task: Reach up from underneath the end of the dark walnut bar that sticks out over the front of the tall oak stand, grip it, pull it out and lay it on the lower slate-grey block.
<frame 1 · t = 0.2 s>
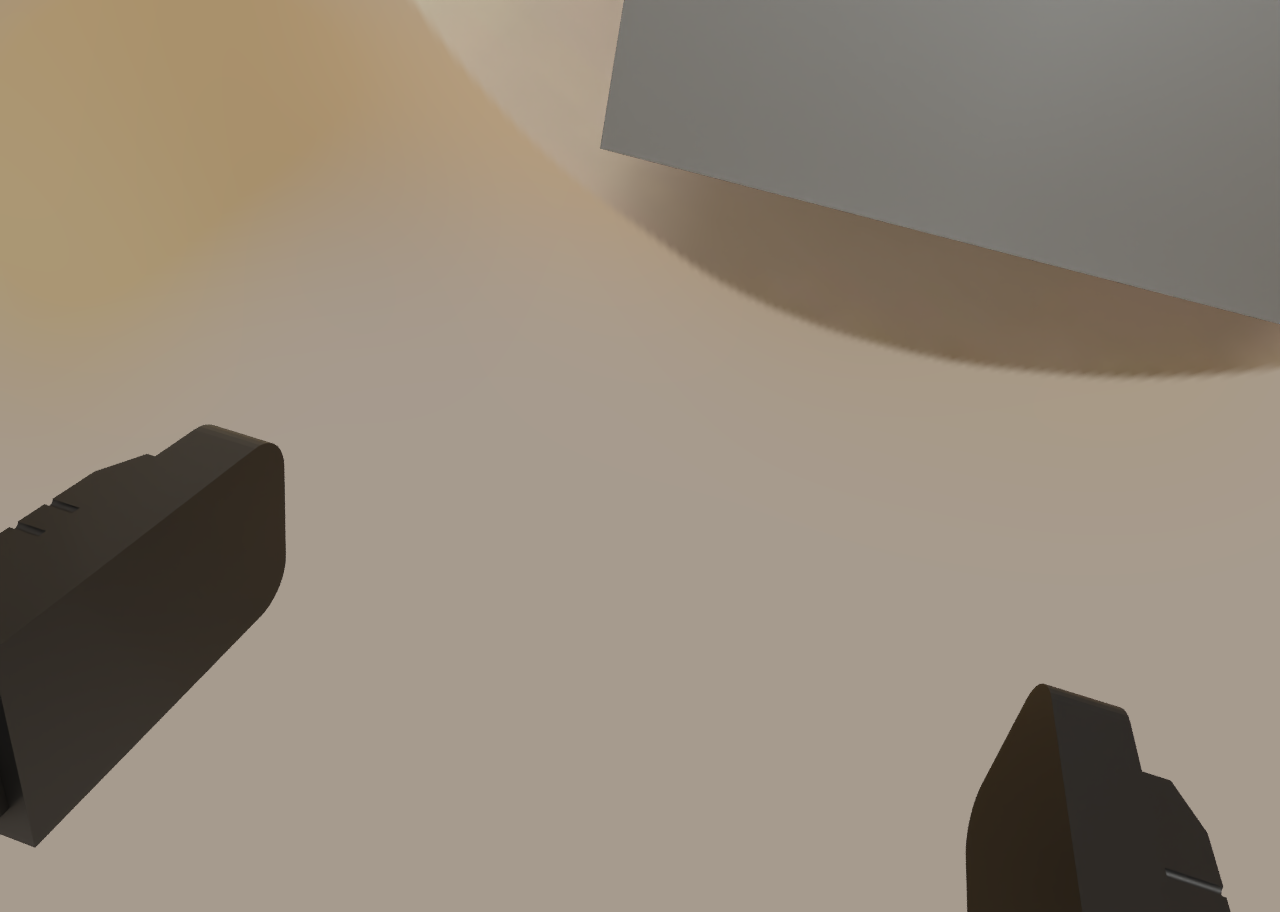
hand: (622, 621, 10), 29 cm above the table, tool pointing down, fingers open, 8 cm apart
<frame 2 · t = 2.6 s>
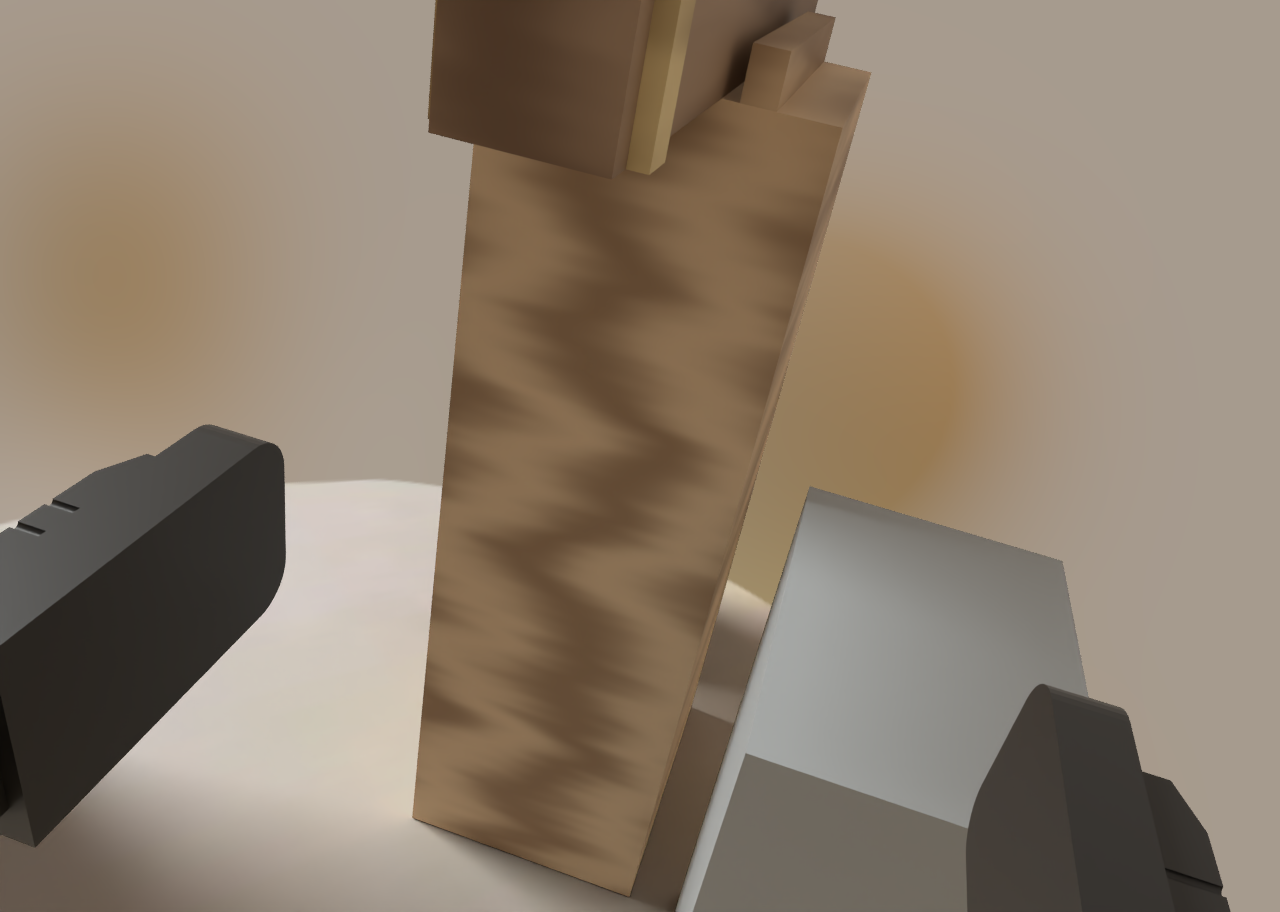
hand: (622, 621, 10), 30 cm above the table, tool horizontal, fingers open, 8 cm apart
walnut bar: (698, 62, 30), point 32 cm above the table, touching oak stand
oak stand: (564, 756, 47), on the table
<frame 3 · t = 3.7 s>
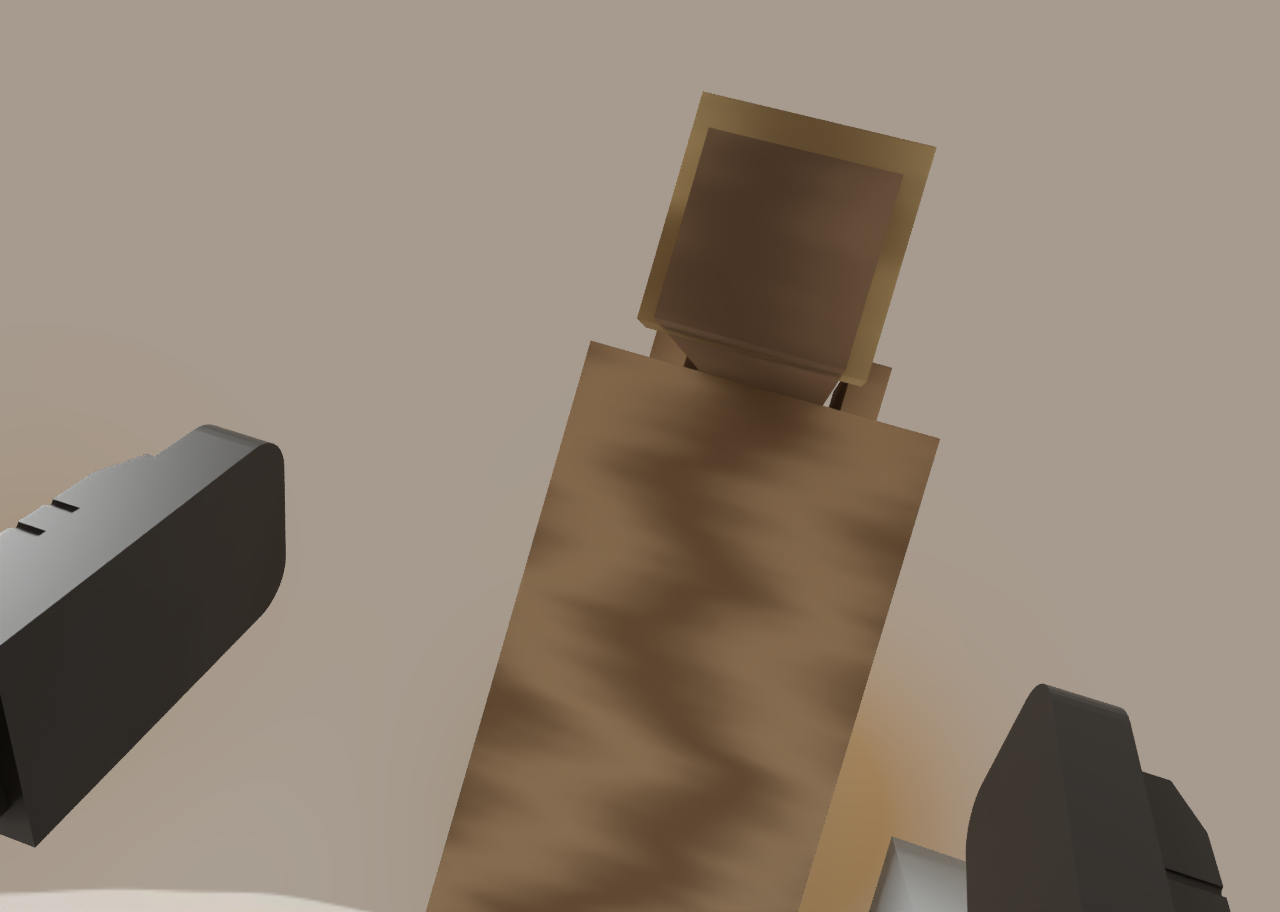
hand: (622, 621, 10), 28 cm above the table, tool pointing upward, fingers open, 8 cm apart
walnut bar: (764, 400, 32), point 32 cm above the table, touching oak stand
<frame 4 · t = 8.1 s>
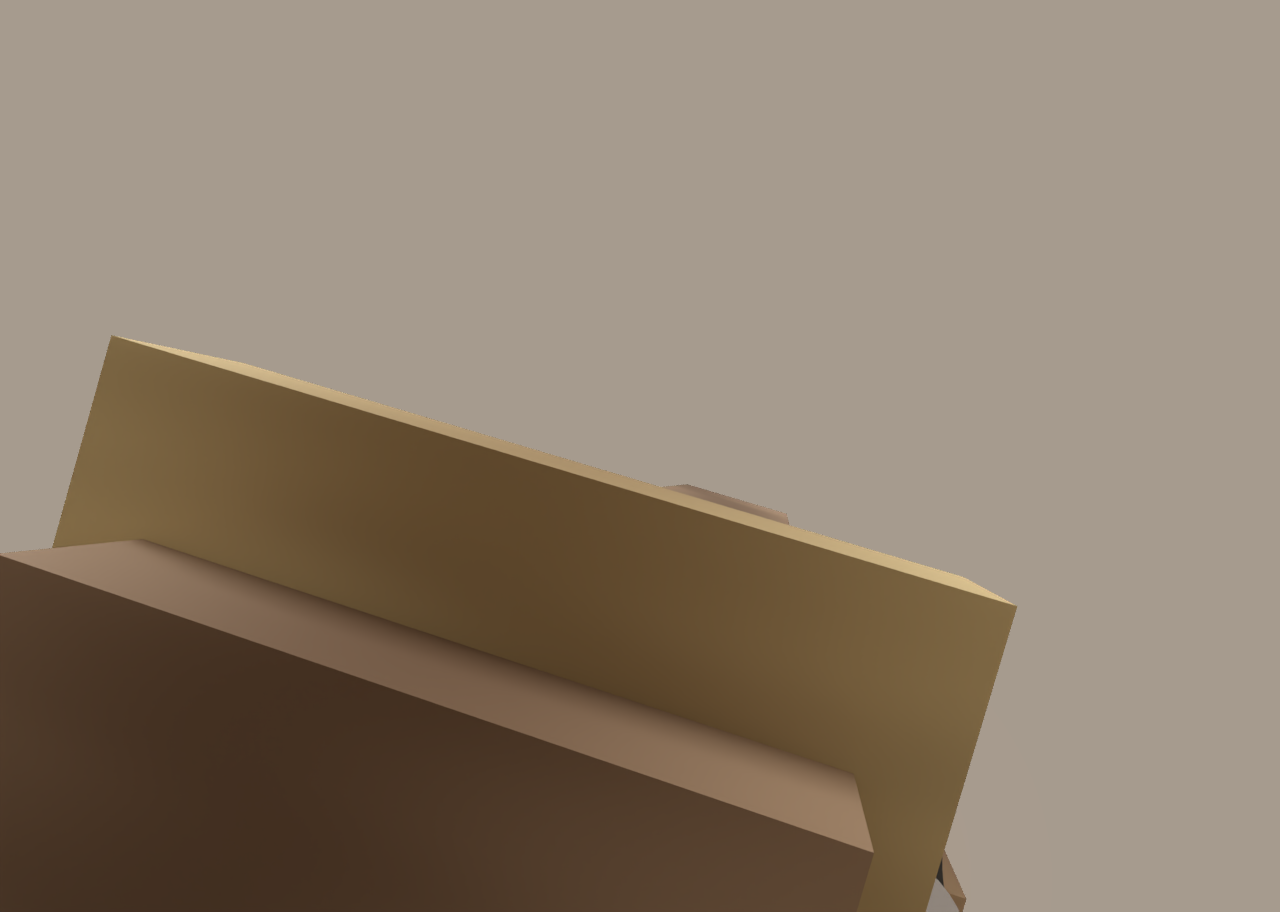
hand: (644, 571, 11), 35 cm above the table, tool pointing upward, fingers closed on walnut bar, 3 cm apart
walnut bar: (652, 695, 19), point 32 cm above the table, touching gripper, oak stand
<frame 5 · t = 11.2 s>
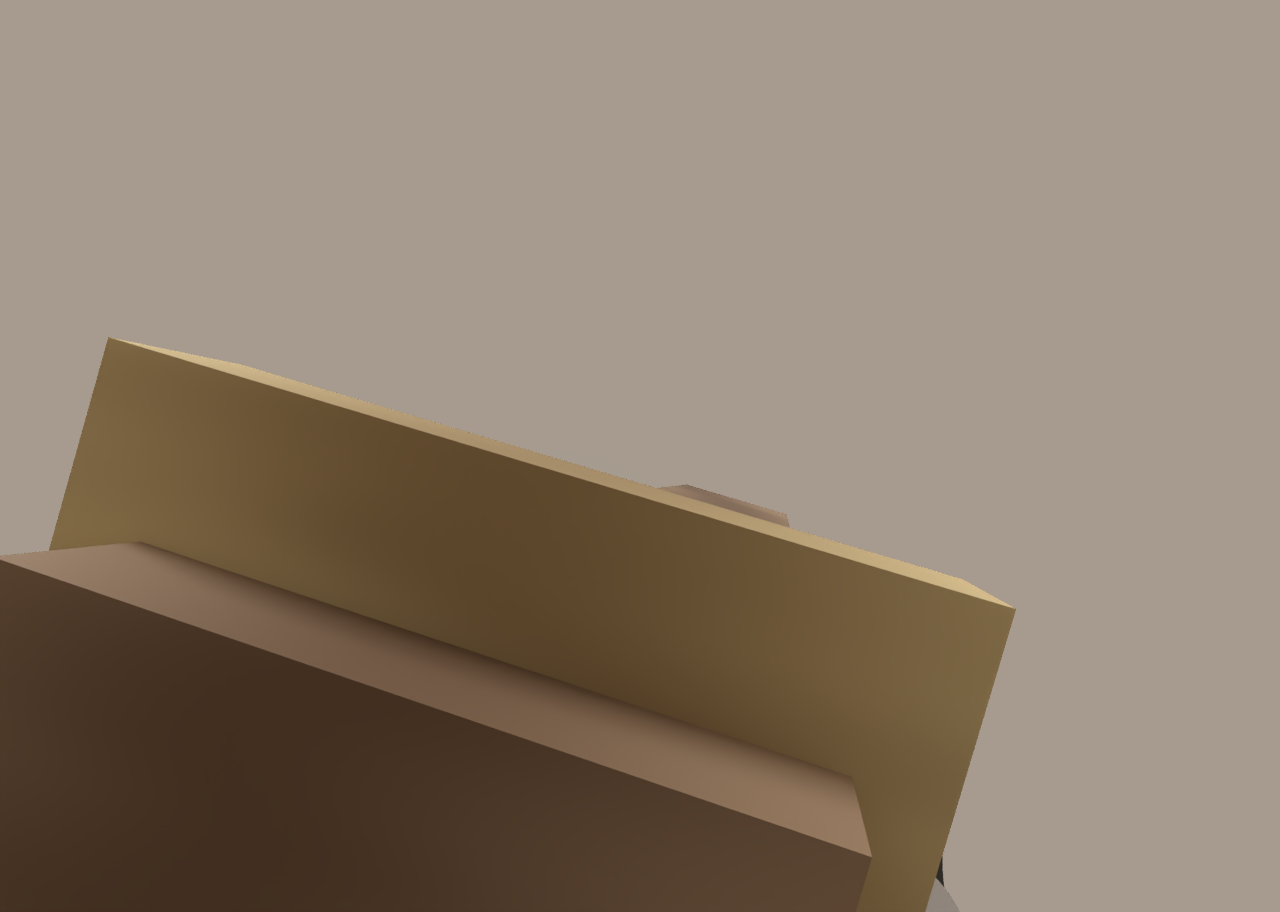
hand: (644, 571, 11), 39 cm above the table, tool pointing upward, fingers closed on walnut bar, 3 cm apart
walnut bar: (651, 696, 19), point 36 cm above the table, touching gripper
when the fingers open (26 cm above the table, at t = 14.5 s): walnut bar drops 1 cm, resting on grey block.
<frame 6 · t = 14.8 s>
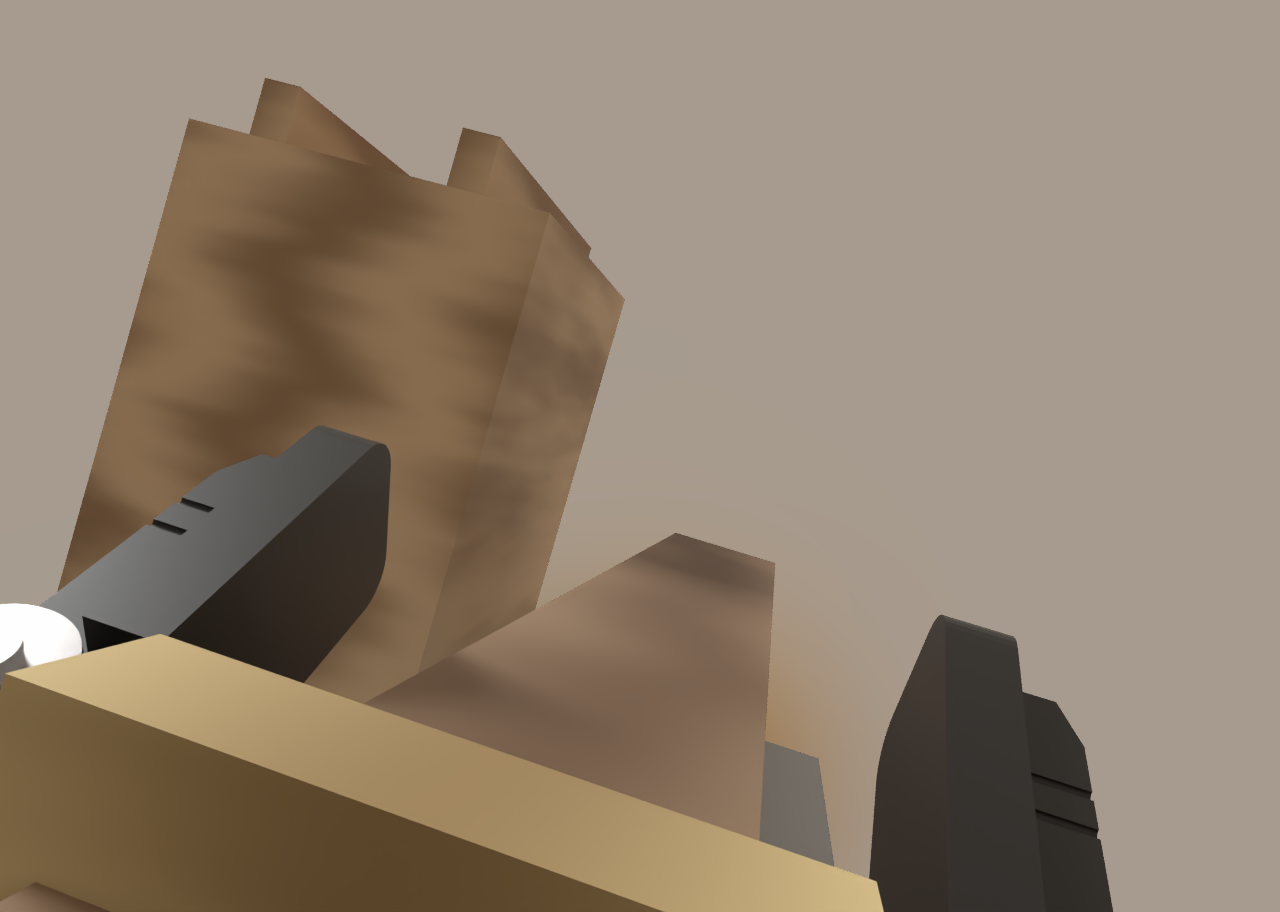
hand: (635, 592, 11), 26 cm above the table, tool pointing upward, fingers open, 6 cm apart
walnut bar: (628, 783, 18), point 21 cm above the table, touching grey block
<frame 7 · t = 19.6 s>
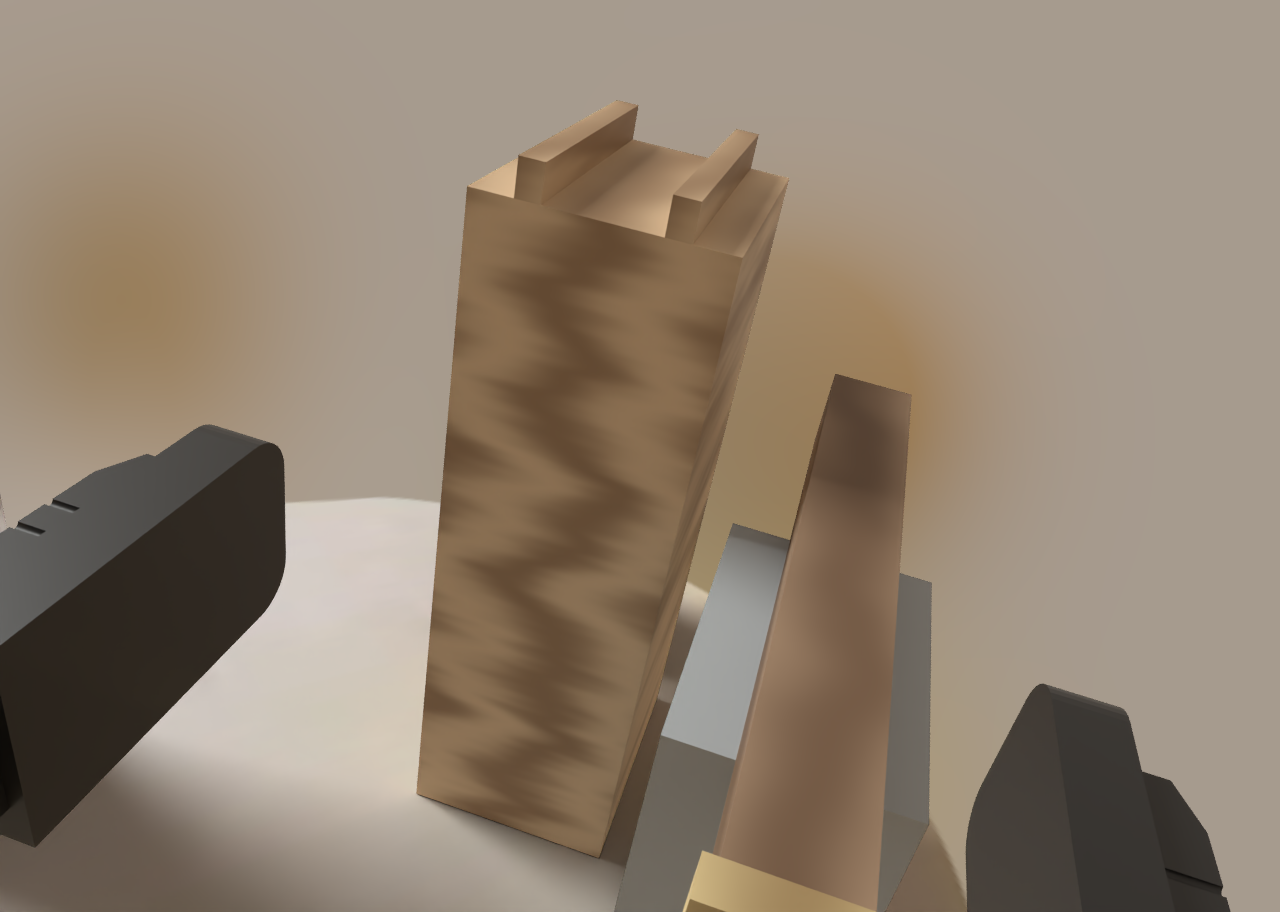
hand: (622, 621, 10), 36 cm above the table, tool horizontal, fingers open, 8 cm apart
walnut bar: (816, 650, 33), point 21 cm above the table, touching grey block
oak stand: (546, 741, 55), on the table
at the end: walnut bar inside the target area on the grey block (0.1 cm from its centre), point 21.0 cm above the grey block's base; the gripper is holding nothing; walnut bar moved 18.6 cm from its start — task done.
